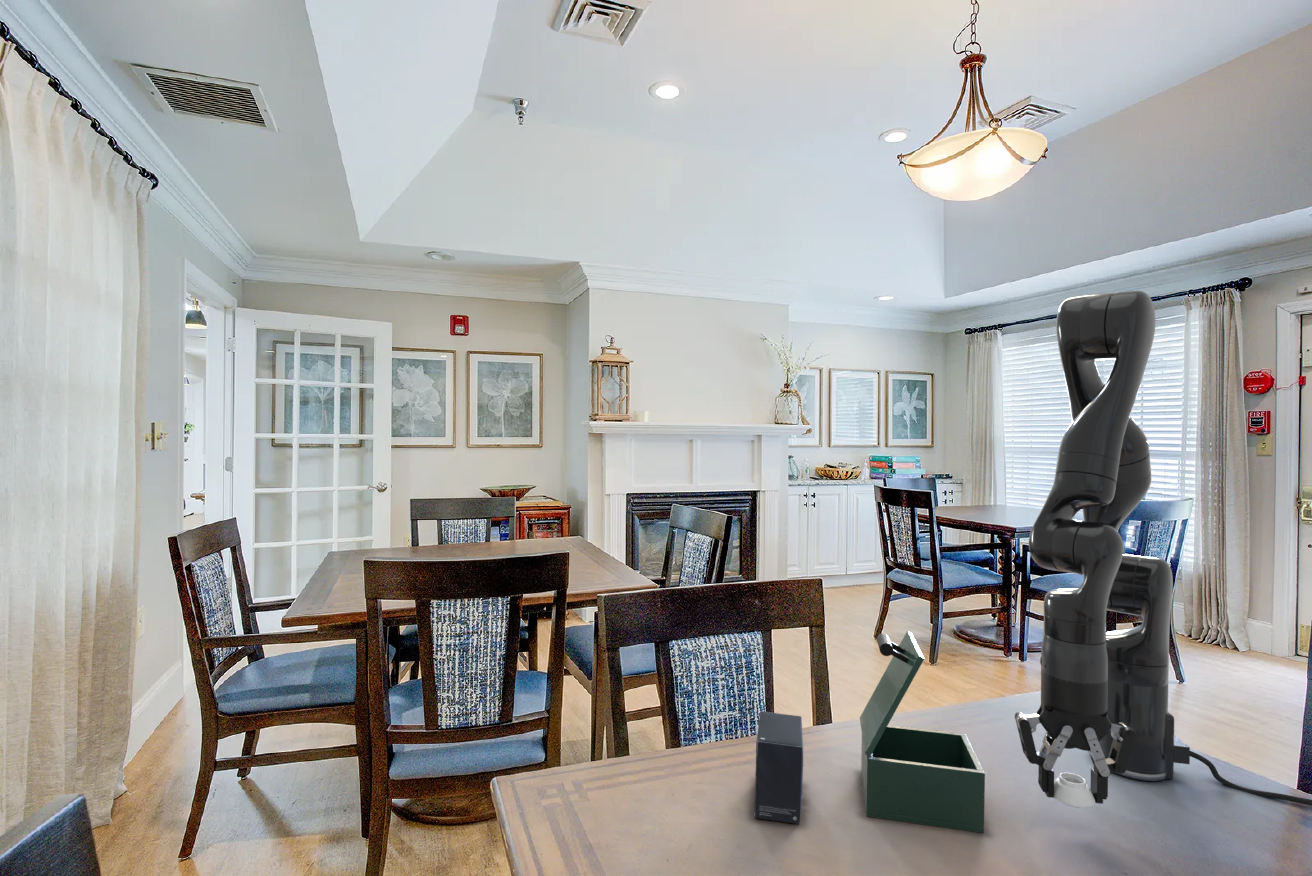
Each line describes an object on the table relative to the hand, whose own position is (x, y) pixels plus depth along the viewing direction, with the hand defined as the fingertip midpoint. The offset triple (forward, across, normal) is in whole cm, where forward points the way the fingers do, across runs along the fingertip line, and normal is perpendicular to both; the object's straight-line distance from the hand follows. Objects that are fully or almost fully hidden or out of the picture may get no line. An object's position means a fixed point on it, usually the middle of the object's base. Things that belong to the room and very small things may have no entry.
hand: (1072, 796), depth 89 cm
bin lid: (-11, -23, +1) cm, 25 cm away
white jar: (+1, 0, 0) cm, 1 cm away
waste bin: (+4, -19, +1) cm, 20 cm away
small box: (+4, -38, -5) cm, 39 cm away
